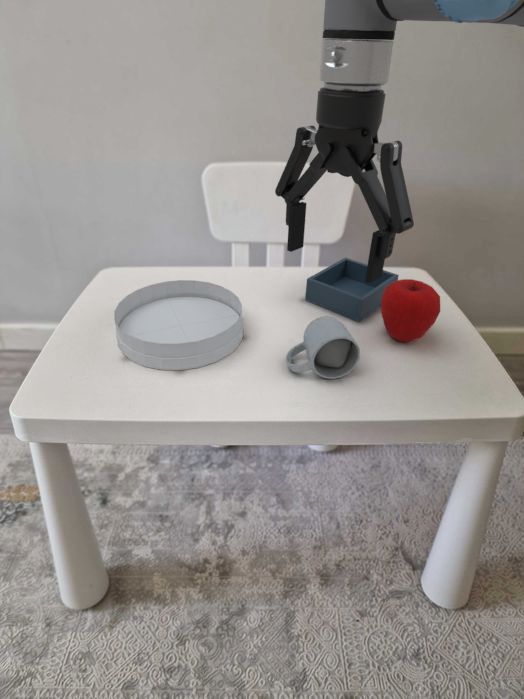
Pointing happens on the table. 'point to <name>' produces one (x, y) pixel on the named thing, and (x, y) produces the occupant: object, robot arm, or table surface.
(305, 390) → the table surface
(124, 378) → the table surface
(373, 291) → the tub
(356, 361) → the ceramic mug
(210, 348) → the dish
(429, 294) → the apple
